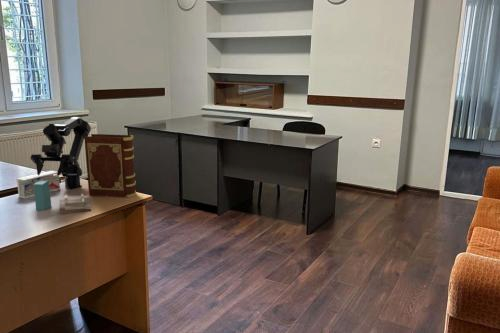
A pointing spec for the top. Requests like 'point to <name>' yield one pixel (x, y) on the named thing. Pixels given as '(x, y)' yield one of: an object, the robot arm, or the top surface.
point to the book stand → (74, 205)
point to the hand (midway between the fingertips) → (48, 175)
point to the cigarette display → (27, 182)
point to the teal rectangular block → (42, 195)
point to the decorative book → (110, 165)
